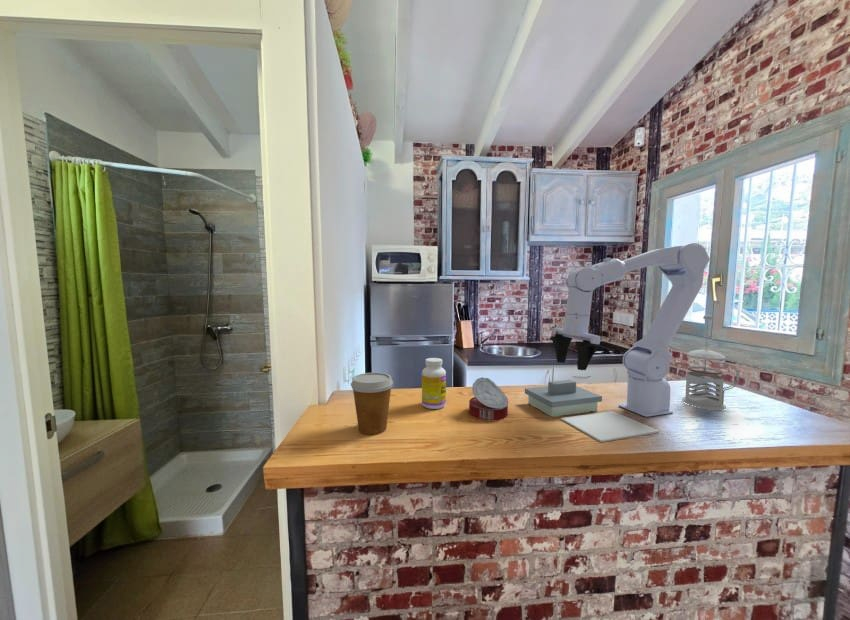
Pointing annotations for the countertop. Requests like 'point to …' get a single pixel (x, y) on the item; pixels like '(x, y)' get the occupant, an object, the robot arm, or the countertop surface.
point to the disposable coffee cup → (372, 401)
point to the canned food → (488, 401)
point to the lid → (562, 394)
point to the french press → (706, 380)
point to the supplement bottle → (433, 384)
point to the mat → (609, 426)
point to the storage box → (562, 408)
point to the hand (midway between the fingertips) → (570, 365)
